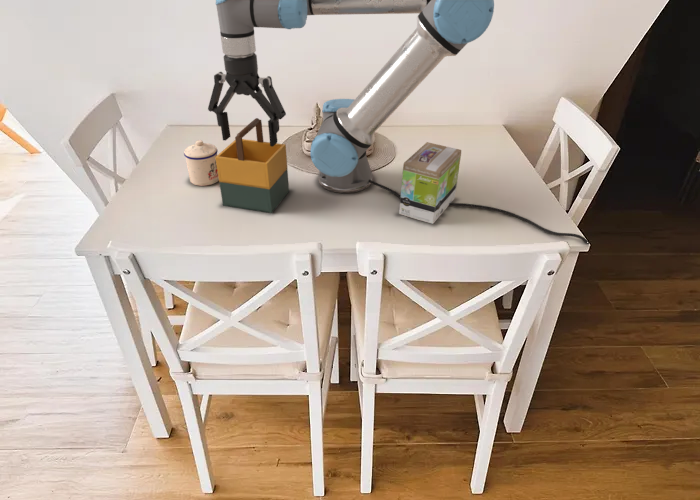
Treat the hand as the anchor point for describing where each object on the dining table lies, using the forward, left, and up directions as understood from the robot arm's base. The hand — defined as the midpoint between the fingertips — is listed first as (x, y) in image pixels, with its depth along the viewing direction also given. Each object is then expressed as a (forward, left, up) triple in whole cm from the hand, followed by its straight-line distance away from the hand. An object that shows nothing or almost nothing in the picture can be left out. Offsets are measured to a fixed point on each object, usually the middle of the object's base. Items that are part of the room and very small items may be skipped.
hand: (250, 141), depth 136 cm
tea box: (-45, -9, -17) cm, 49 cm away
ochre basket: (0, 0, -9) cm, 9 cm away
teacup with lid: (+19, -8, -17) cm, 26 cm away
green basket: (0, 0, -16) cm, 16 cm away
